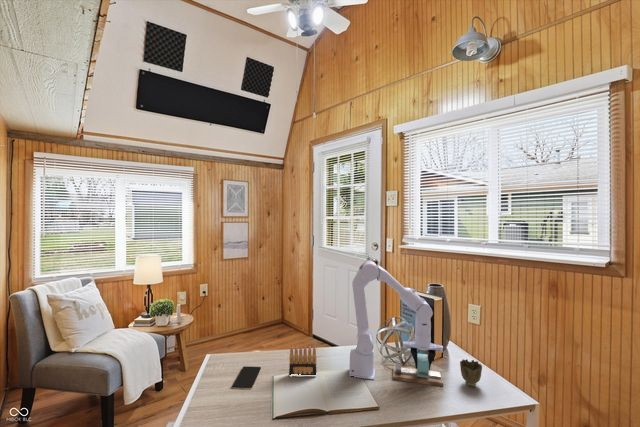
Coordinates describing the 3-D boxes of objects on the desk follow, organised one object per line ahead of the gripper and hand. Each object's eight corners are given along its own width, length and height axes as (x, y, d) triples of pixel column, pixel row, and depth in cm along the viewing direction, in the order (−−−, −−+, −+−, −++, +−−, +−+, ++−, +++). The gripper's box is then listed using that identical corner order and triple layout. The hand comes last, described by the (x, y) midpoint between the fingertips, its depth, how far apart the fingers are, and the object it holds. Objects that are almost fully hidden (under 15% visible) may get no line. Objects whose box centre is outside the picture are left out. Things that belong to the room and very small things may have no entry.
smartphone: (231, 386, 112) (243, 366, 127) (231, 389, 112) (243, 368, 127) (251, 387, 112) (261, 366, 127) (251, 390, 112) (261, 369, 127)
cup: (460, 388, 114) (460, 366, 114) (459, 378, 121) (459, 357, 121) (483, 392, 111) (483, 370, 111) (480, 382, 118) (480, 360, 118)
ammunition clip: (288, 377, 121) (289, 346, 121) (289, 374, 122) (289, 344, 122) (316, 377, 121) (316, 346, 121) (316, 374, 123) (316, 344, 123)
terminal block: (417, 377, 118) (417, 361, 118) (416, 368, 124) (416, 353, 124) (428, 378, 117) (429, 363, 117) (427, 369, 123) (427, 354, 123)
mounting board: (393, 379, 120) (393, 376, 120) (393, 368, 128) (393, 365, 128) (443, 386, 115) (443, 382, 115) (440, 374, 124) (440, 371, 124)
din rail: (394, 373, 121) (394, 369, 121) (394, 367, 126) (394, 363, 126) (441, 379, 117) (441, 375, 117) (439, 373, 122) (439, 368, 122)
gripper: (403, 334, 119) (403, 370, 119) (444, 339, 116) (443, 375, 116) (403, 328, 126) (402, 362, 126) (441, 332, 122) (441, 366, 122)
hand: (422, 368), depth 121 cm, fingers closed on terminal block, 4 cm apart
